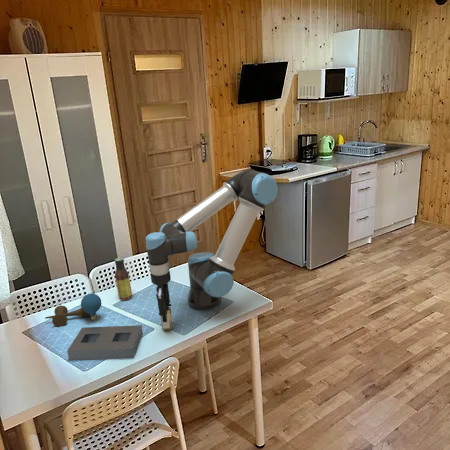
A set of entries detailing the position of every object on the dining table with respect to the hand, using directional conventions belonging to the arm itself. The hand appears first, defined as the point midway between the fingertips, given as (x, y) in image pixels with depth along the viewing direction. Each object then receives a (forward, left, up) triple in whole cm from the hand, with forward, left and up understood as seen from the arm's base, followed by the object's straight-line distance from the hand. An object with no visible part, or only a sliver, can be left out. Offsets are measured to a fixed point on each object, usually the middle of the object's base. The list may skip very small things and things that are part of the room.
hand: (167, 324), depth 173 cm
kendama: (+44, -11, -2) cm, 46 cm away
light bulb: (+34, -10, -2) cm, 35 cm away
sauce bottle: (+25, -29, -2) cm, 38 cm away
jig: (+22, +11, -2) cm, 24 cm away
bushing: (0, 0, -1) cm, 1 cm away
